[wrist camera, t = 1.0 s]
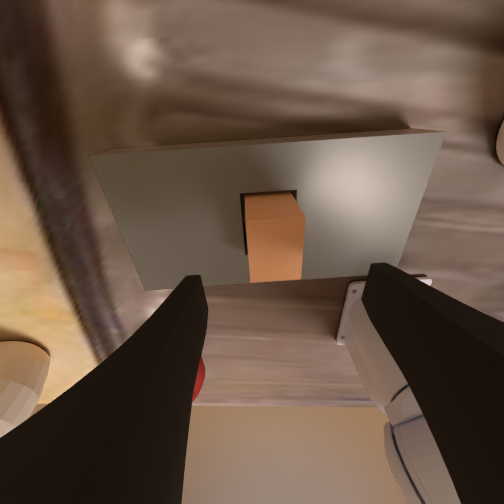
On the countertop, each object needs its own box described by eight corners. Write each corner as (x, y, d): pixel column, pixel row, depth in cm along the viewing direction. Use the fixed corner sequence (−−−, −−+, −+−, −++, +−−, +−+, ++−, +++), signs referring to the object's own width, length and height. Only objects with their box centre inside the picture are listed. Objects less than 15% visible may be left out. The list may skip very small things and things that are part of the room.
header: (376, 253, 20) (395, 273, 18) (157, 268, 20) (145, 290, 18) (411, 128, 15) (446, 131, 12) (114, 148, 15) (89, 155, 12)
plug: (284, 232, 18) (300, 279, 13) (248, 235, 18) (250, 282, 13) (285, 183, 16) (305, 216, 11) (244, 186, 16) (245, 220, 11)
